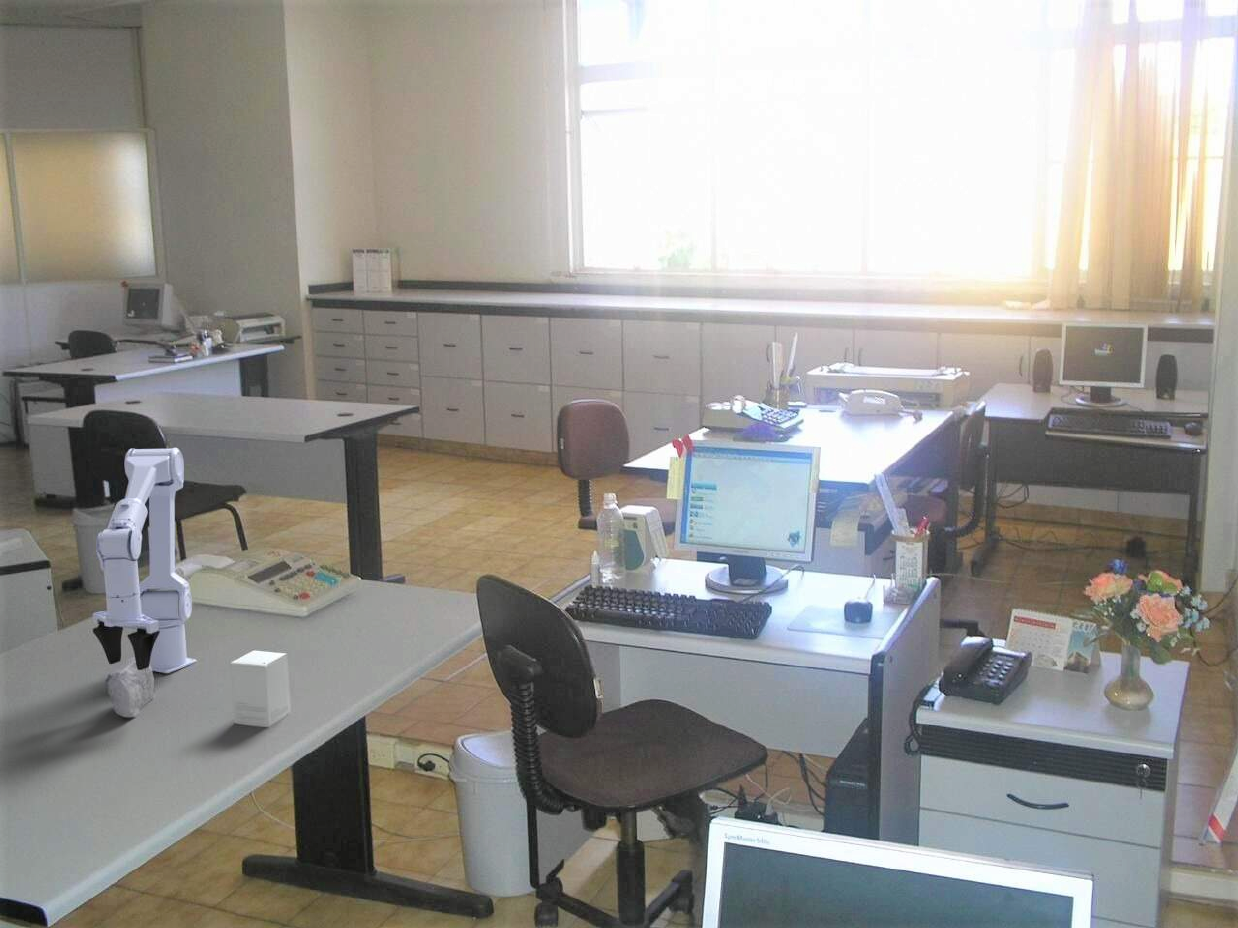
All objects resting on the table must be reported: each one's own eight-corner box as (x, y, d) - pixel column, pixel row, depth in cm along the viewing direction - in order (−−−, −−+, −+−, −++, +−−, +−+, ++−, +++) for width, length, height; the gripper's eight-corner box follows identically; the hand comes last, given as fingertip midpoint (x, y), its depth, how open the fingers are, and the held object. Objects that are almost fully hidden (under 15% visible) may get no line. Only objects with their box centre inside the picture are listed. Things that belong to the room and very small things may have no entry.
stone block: (133, 703, 237) (128, 652, 235) (158, 703, 237) (154, 652, 235) (105, 727, 225) (100, 673, 224) (131, 727, 225) (127, 673, 224)
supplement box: (293, 719, 228) (289, 652, 226) (269, 734, 221) (264, 665, 219) (258, 715, 230) (254, 649, 228) (233, 729, 224) (229, 661, 221)
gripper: (76, 594, 227) (83, 666, 229) (134, 603, 220) (140, 677, 223) (108, 584, 233) (114, 654, 235) (165, 593, 226) (170, 665, 229)
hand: (129, 665), depth 229 cm, fingers open, 7 cm apart
